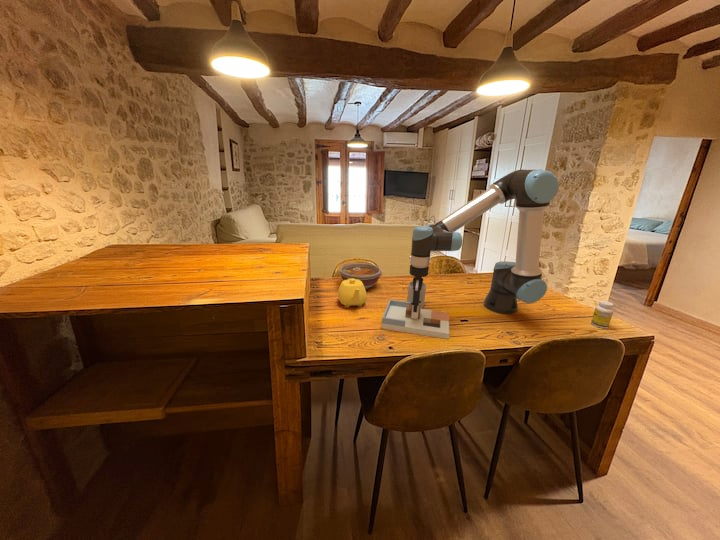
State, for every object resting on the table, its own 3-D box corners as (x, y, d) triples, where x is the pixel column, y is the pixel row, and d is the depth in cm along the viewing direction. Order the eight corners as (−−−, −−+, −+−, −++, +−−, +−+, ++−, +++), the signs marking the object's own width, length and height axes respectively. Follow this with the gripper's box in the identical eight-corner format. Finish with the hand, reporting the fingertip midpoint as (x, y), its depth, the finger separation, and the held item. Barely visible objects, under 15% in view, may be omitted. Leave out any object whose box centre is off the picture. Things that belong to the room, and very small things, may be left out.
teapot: (361, 295, 157) (361, 272, 152) (371, 312, 138) (373, 287, 134) (335, 297, 153) (335, 273, 149) (342, 315, 135) (343, 289, 131)
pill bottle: (591, 320, 137) (598, 298, 133) (608, 325, 133) (615, 302, 129) (590, 325, 132) (597, 302, 128) (607, 330, 128) (615, 307, 125)
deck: (448, 317, 136) (449, 307, 134) (448, 339, 118) (450, 328, 117) (389, 309, 142) (389, 299, 140) (381, 328, 125) (382, 317, 123)
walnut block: (420, 313, 134) (421, 305, 132) (419, 319, 128) (420, 311, 127) (406, 311, 135) (407, 304, 134) (405, 317, 129) (405, 309, 128)
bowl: (335, 280, 176) (335, 264, 173) (372, 277, 183) (372, 261, 180) (345, 295, 156) (345, 277, 153) (386, 291, 162) (387, 274, 159)
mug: (425, 308, 143) (428, 287, 140) (408, 308, 143) (410, 287, 140) (420, 298, 155) (422, 278, 151) (404, 298, 154) (405, 278, 151)
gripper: (411, 259, 127) (407, 309, 134) (408, 269, 115) (403, 323, 122) (429, 261, 125) (424, 312, 133) (428, 271, 113) (422, 326, 121)
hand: (414, 317), depth 128 cm, fingers closed
